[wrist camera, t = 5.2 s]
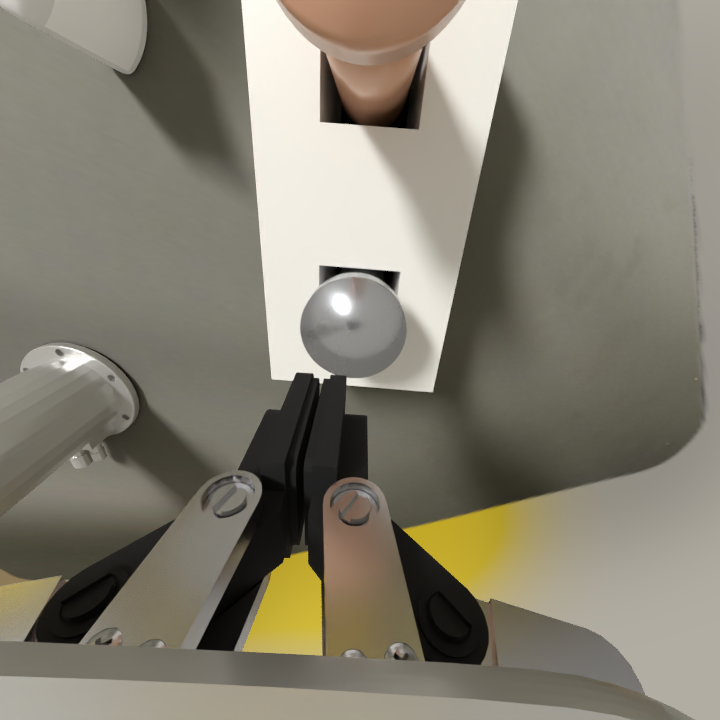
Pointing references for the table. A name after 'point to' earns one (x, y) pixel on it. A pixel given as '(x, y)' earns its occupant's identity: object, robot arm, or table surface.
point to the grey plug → (354, 324)
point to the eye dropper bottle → (90, 27)
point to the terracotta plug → (371, 47)
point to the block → (369, 180)
